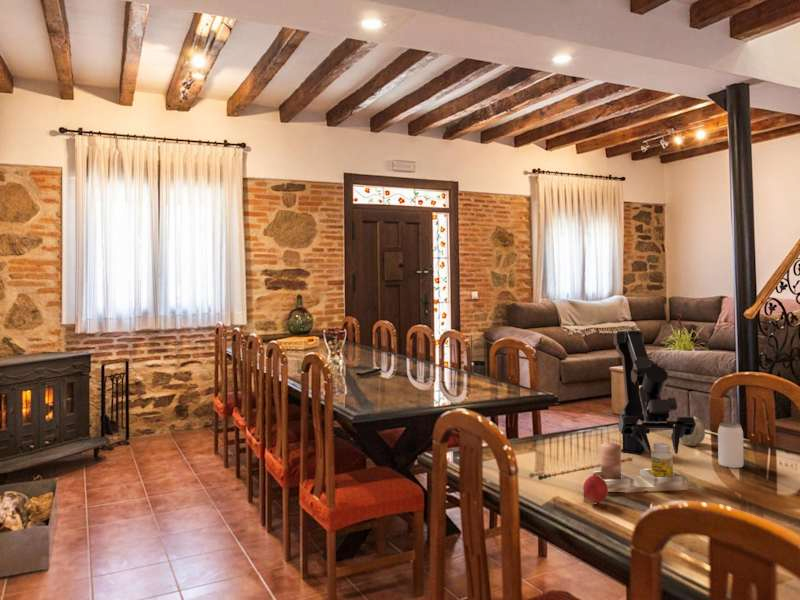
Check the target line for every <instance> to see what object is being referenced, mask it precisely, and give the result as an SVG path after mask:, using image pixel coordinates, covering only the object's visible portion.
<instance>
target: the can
mask: <svg viewBox="0 0 800 600" xmlns="http://www.w3.org/2000/svg"><path fill="white" fill-rule="evenodd" d="M717 449H718V452H717V454H718V455H717V458H718V464H719V466H721V467H723V468H727V467H728V469H741V468H743V467H744V430H743V428H742V425H741V424H740V423H734V422H721V423H719V426H718V429H717Z"/></svg>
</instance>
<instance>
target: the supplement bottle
mask: <svg viewBox="0 0 800 600" xmlns="http://www.w3.org/2000/svg"><path fill="white" fill-rule="evenodd" d="M652 447H653V451H651V453H650V460H651V461H650V462H651V463H650V465H651V467H650V469H651V474H652V475H653V476H655V477H673V470H674V457H673V454H672V453H671V451H670V450H671V448H670V444H668V443H663V442H656V443H653V446H652Z"/></svg>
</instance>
